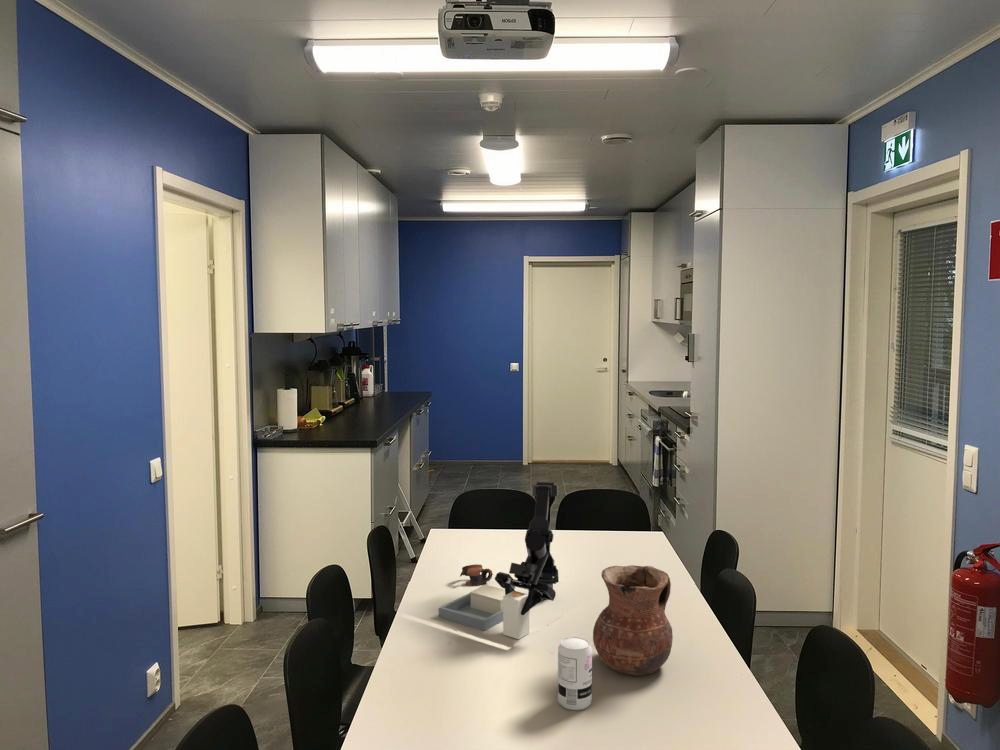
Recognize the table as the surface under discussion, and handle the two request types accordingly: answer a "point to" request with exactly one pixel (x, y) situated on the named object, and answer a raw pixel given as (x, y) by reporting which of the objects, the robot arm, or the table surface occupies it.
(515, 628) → the juice carton
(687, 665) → the table surface
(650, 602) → the jug
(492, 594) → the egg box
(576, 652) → the supplement can
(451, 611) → the tote
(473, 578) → the pottery mug
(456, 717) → the table surface
